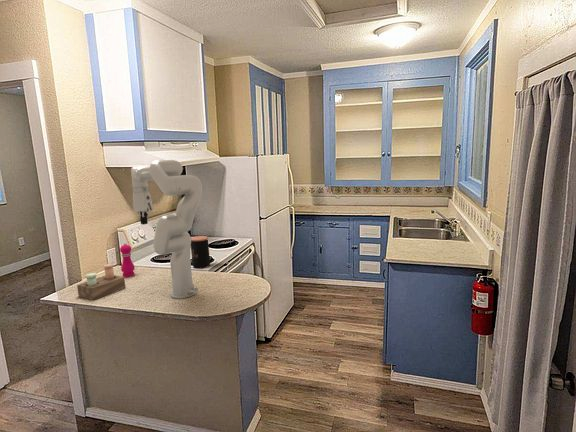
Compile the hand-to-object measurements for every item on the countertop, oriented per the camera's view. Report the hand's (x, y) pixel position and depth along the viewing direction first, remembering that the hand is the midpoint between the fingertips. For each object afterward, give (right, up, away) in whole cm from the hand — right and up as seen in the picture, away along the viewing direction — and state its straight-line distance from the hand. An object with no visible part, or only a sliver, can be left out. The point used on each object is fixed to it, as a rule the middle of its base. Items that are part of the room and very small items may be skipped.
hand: (144, 224), depth 198 cm
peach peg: (-16, -31, -5) cm, 35 cm away
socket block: (-18, -35, -9) cm, 40 cm away
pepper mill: (-15, -31, +16) cm, 38 cm away
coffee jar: (+24, -27, +29) cm, 46 cm away
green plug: (-20, -35, -14) cm, 43 cm away
